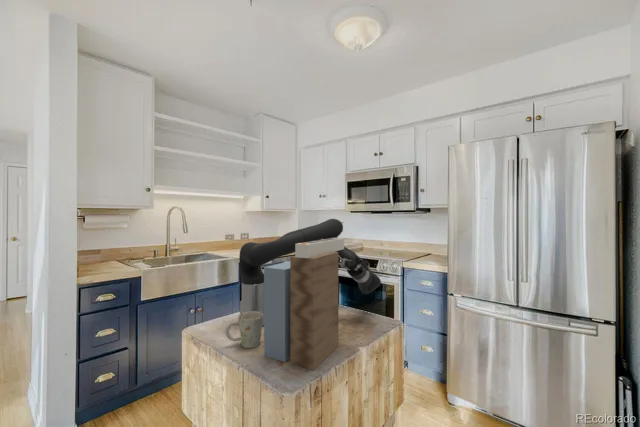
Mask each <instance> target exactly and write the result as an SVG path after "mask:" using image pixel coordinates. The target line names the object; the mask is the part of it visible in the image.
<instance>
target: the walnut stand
mask: <svg viewBox="0 0 640 427" xmlns="http://www.w3.org/2000/svg"><path fill="white" fill-rule="evenodd" d="M338 256H339V255H338V252H331V253H327V254H323V255H319V256H315V257H311V258H298V257H295V255H292V256H290V260H289V261H290V359H289V361H290V365H294V366H297V367H301V368H305V369H307V370H311V371H315V370H316V369H317V368H318V367H319V366H320V365H321V364H322V363H324V361H325V360H326V359H328V358H329V357H330V355H332V354H333V353H334V352H335V351H336V350H337V349H338V348H339V346H340V345H339V344H340V343H339V328H340V327H339V268H338Z"/></svg>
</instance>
